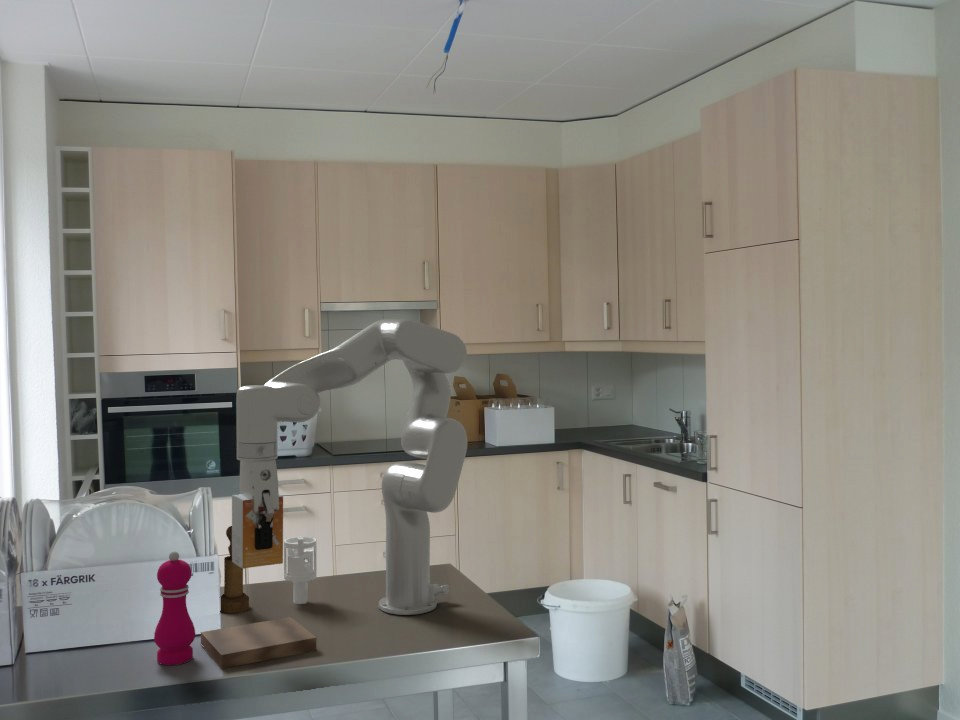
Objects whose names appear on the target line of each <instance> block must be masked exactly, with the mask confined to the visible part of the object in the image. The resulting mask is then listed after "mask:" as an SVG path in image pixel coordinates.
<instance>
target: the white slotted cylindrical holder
mask: <svg viewBox="0 0 960 720" xmlns="http://www.w3.org/2000/svg"><path fill="white" fill-rule="evenodd" d="M305 560H307V561H305ZM283 579H284V580H285V581H287V582H292V585H293V588H292V590H293V592H292V593H293V594H292V595H293V596H292V597H293V600H292V601H293V604H294V605H304V604H307V603H308V582H310V581H313V580H315V579H317V539H316V538H315V537H313V536H312V537H311V536H304V535H297V536H293V537H288V538H286V539H283Z"/></svg>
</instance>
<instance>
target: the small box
mask: <svg viewBox="0 0 960 720" xmlns="http://www.w3.org/2000/svg"><path fill="white" fill-rule="evenodd" d="M258 510H259V511H265V509H264V507H258ZM274 511H275V510H274ZM262 516H264V515H260V520H261V519H262ZM272 522H273V527H272V542H273V546H272V548H270V549H262V550H256V549H255V528H257V525H256V514H255V513H253V512H252V503H251V499H249V498H248V497H246V496H244V495H242V494H240V493H238V494H232V495H231V526H232V562H233V563H235V564H236V565H238V566H239V567H241V568H242V569H243V570H244V569H250V568H255V567H256V568H257V567H265V566H271V565H281V564H284V495H281V494H279V509H278V511H276V512H274V515H273V520H272Z"/></svg>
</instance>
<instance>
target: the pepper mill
mask: <svg viewBox="0 0 960 720" xmlns="http://www.w3.org/2000/svg"><path fill="white" fill-rule="evenodd" d="M168 558H169V560H166V561H164V562H163V563H162V564H160V566H159V567H158V569H157V573H156V579H157V582H158V583H159V585H161V586H160V588H159V590H160V592H159V595H160V597H162V611H161V615H160V618H159V619H158V622H157V625H156V627H155V631H154V633H153V634H154V636H153V642H154V643H155V645H156V646H157V647H158V648H159V649H158V650H157V652H156V661H157V662H159V663H158V664H160V663H161V664H160V665H163V664H166V666H176V665H175V664H178V665H181V664H180V663H183V664H185V663H184V662H186V663H188V662H189V660H190V659H191V658H192V657H194V656H193V654H194V648H193V646H191V645H192V643H193V642H194V641H195V639H196V629H195V625H194V622H193V620H192V618H191V616H190V613H189V611H188V607H187V595H188V594H189V588H190V587H189V585H188V583H189V582H190V580H191V578H192V568H191V566H190V565H189V563H188V562H187V561H185V560H182V559H180V555H179V553H178V552H177V551H172V552H170V553H169V556H168ZM192 659H193V658H192ZM192 659H191V660H192ZM191 660H190V661H191ZM187 661H188V662H187Z"/></svg>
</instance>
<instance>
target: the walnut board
mask: <svg viewBox="0 0 960 720" xmlns="http://www.w3.org/2000/svg"><path fill="white" fill-rule="evenodd" d="M201 644H202V645H203V646H204V648H205V649H206V650H207V652H208V653H209V654H210V655H211V656H210V655H209V654H208V653H207V654H208V655H209V656H210V658H212V660H213V659H214V660H213V661H214V662H215V663H216V664H217V666H219V668H220V669H227V668H232V667H238V666H242V665H249V664H252V663H258V662H264V661H270V660H274V659H278V658H285V657H289V656H296V655H299V654H304V653H310V652H316V651H317V637H316V636H315V635H314V634H313V633H311V632H310V631H309V630H308V629H306V628H305V627H304V626H303V625H302V624H300V623H299V622H298V621H297V620H295V619H294V618H293V617H291V616H287V617H281V618H275V619H269V620H265V621H260V622H253V623H248V624H242V625H241V624H240V625H236V626H229V627H224V628H218V629H211V630H207V631H206V630H205V631H200V645H201ZM204 648H203V649H204ZM205 649H204V650H205ZM206 650H205V651H206Z"/></svg>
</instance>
